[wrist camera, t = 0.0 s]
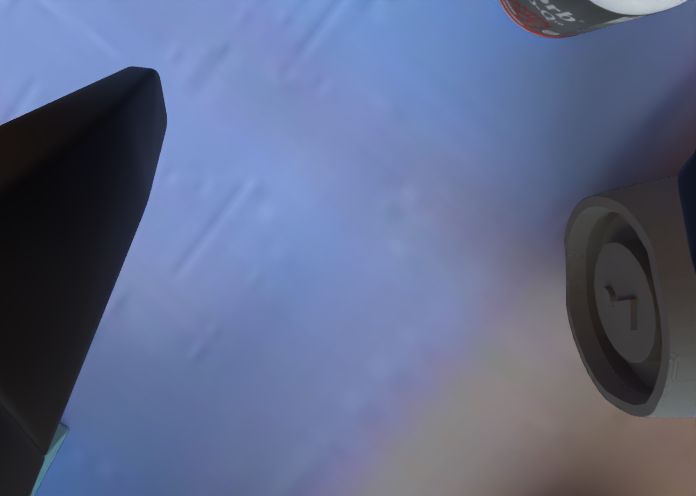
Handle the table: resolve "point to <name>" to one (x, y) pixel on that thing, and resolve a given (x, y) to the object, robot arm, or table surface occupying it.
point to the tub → (51, 454)
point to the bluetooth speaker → (634, 298)
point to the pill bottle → (578, 14)
